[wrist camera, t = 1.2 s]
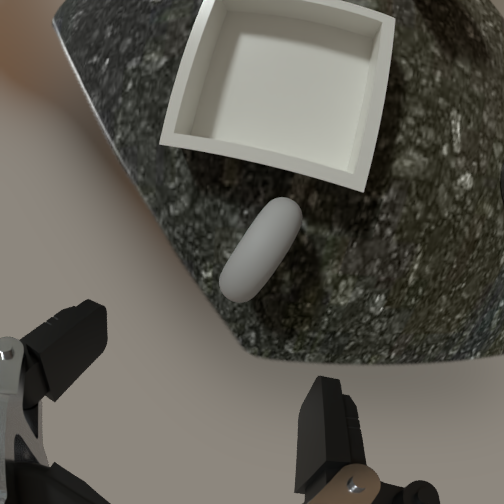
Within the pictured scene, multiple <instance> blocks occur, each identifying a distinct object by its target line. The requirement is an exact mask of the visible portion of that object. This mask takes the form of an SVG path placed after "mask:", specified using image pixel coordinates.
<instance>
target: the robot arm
mask: <svg viewBox="0 0 504 504" xmlns="http://www.w3.org/2000/svg"><path fill="white" fill-rule="evenodd" d="M501 189H502V196H503V200H504V164H503V168H502V174H501ZM107 339H108V337H107V311H106V308H105V306H103V305H101V304H98V303H96V302H94V301H91V300H89V299H87V300H85V301H83V302H82V303H81V304H79V305H78V306H76V307H75V306H73V307H70V308H66V309H63V310H61V311H60V312H58V313H57V314H56V315H54V317H51V318H50V319H48V320H47V322H44V323H43V324H41V325H40V326H38V327H37V328H36V329H34V330H33V331H31V332H30V333H29V334H27V335H26V336H25V337H23V338H22V339H20V340H18V339H16V338H13V337H2V338H0V504H110V503H109V502H108V501H106V500H105V499H104V498H103V497H102V496H100V495H99V494H98V493H97V492H96V491H94V490H93V489H92V488H91V487H90V486H89V485H88V484H87V483H86V482H84V481H83V480H81V479H79V478H78V477H76V476H75V475H73V474H72V473H70V472H69V471H67V470H65V469H64V468H62V467H61V466H60V465H58V464H57V463H55V462H54V463H53V465H52V466H51V467H49V464H48V460H47V456H46V454H45V451H44V447H43V439H42V438H43V437H42V401H41V399H42V398H43V397H44V396H47V397H48V398H49V399H51V400H52V401H54V402H56V400H57V399H58V398H59V397H60V396H61V395H62V394H63V393H64V392H65V391H66V390H67V389H68V388H69V387H70V386H71V385H72V384H73V382H74V381H75V380H76V379H77V378H78V377H79V376H80V375H81V374H82V373H83V372H84V371H85V370H86V369H87V368H88V367H89V366H90V365H91V364H92V363H93V362H94V361H95V360H96V358H98V357H99V356H100V355H101V353H103V351H104V349H105V347H106V345H107ZM358 418H359V417H358V412H357V407H356V405H355V403H354V402H353V400H352V399H351V397H350V396H349V395H344V394H342V390H341V384H340V380H339V379H333V378H329V377H324V376H318V377H317V378H316V380H315V382H314V383H313V385H312V387H311V389H310V391H309V393H308V395H307V397H306V398H305V400H304V402H303V404H302V406H301V409H300V413H299V419H298V441H297V460H296V477H295V491H294V493H300V494H305V502H304V503H303V504H440V501H439V495H438V492H437V490H436V489H435V487H434V486H433V485H432V484H430V483H428V482H426V481H422V480H418V481H414V482H412V483H410V484H409V485H408V486H407V487H405V488H403V487H399V486H395V485H391V484H387V483H383V482H381V481H380V479H379V477H378V475H377V473H376V472H375V471H374V470H373V469H371V468H370V467H368V466H367V465H366V459H365V453H364V447H363V440H362V434H361V430H360V424H359V420H358Z"/></svg>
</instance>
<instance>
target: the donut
mask: <svg viewBox="0 0 504 504" xmlns="http://www.w3.org/2000/svg"><path fill="white" fill-rule="evenodd" d="M302 218H303V216H302V211H301V209H300V207H299V205H298V204H297V203H296V202H295V201H293V200H291V199H289V198H285V197H279V198H275V199H273V200H271V201H270V202H269V203H268V204H267V205H266V206H265V207H264V208H263V209H262V211H261V212H260V213H259V215H258V216H257V217H256V219H255V220H254V222H253V223H252V224H251V226H250V227H249V229H248V230H247V232H246V233H245V235H244V236H243V238H242V239H241V241H240V242H239V244H238V245H237V247H236V248H235V250H234V252H233V253H232V255H231V257H230V258H229V260H228V262H227V263H226V265H225V267H224V269H223V271H222V273H221V275H220V279H219V285H220V289H221V291H222V293H223V295H224V296H225V297H227V298H228V299H229V300H231V301H233V302H240V303H241V302H246V301H248V300H250V299H252V298H253V297H254V296H255V295H256V294H257V293H258V292H259V291H260V290H261V289H262V287H263V286H264V285H265V284H266V283H267V281H268V280H269V279H270V277H271V276H272V275H273V273H274V272H275V270H276V269H277V267H278V266H279V264H280V263H281V261H282V260H283V258H284V257H285V255H286V253H287V252H288V250H289V249H290V247H291V245H292V243H293V242H294V240H295V238H296V236H297V234H298V232H299V230H300V228H301V224H302Z"/></svg>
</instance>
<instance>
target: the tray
mask: <svg viewBox="0 0 504 504" xmlns="http://www.w3.org/2000/svg"><path fill="white" fill-rule="evenodd" d="M394 27H395V18H393V17H391V16H388V15H385V14H383V13H380V12H377V11H374V10H371V9H368V8H365V7H362V6H358V5H355V4H352V3H348V2H344V1H341V0H204V1H203V3H202V5H201V8H200V10H199V13H198V15H197V18H196V20H195V23H194V26H193V28H192V31H191V34H190V37H189V40H188V42H187V45H186V48H185V51H184V54H183V57H182V60H181V63H180V67H179V70H178V73H177V77H176V80H175V83H174V87H173V90H172V94H171V98H170V101H169V105H168V109H167V113H166V117H165V121H164V125H163V130H162V134H161V138H160V143H159V144H160V145H166V146H172V147H178V148H184V149H190V150H195V151H201V152H206V153H212V154H217V155H222V156H227V157H231V158H236V159H241V160H245V161H250V162H254V163H258V164H263V165H267V166H271V167H275V168H279V169H283V170H287V171H291V172H295V173H298V174H302V175H306V176H309V177H313V178H316V179H320V180H323V181H327V182H330V183H333V184H337V185H340V186H343V187H346V188H350V189H353V190H356V191H360V192H363V193H364V189H365V185H366V182H367V178H368V174H369V170H370V166H371V162H372V158H373V154H374V149H375V145H376V140H377V136H378V131H379V126H380V121H381V116H382V111H383V106H384V100H385V95H386V89H387V83H388V76H389V70H390V62H391V55H392V46H393V37H394Z"/></svg>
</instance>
